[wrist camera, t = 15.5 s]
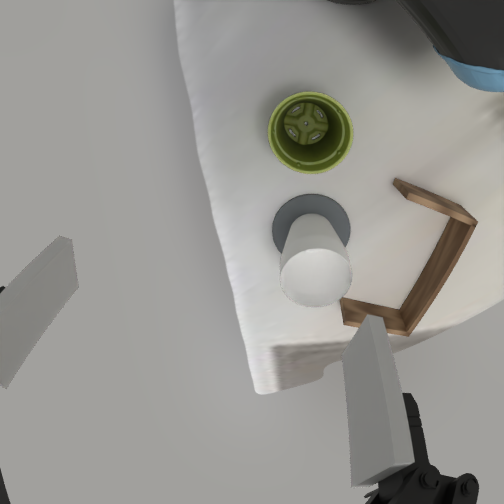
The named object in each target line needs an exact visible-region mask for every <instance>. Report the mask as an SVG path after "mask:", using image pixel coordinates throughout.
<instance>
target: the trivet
mask: <svg viewBox="0 0 504 504" xmlns="http://www.w3.org/2000/svg"><path fill="white" fill-rule="evenodd" d="M311 213H312V214H319V215H321V216H323V217H325V218H326V219H327V220H328V221H329V222H330V224H331V225H332V227H333V228H334V230H335V232H336V233H337V235H338V237H339V238H340V240H341V242H342V243H343V245H344V247H346V245H347V243H348V240H349V237H350V223H349V219H348V217H347V214H346V212H345V211H344V209H343V208H342V207H341V206H340V205H339V204H338V203H337V202H336V201H334V200H333V199H331V198H329V197H326V196H323V195H318V194H306V195H301V196H298V197H295V198H293V199H291V200H290V201H288V202H287V203H285V204H284V205H283V206H282V207H281V208H280V210H279V211H278V213H277V214H276V216H275V219H274V222H273V230H272V233H273V239H274V243H275V245H276V247H277V249H278V250H279V251H280V253H281V254H282V252H283V249H284V246H285V243H286V240H287V237H288V234H289V231H290V228H291V225H292V224H293V222H294V221H295V220H296V219H297V218H298V217H300V216H302V215H305V214H311Z"/></svg>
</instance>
